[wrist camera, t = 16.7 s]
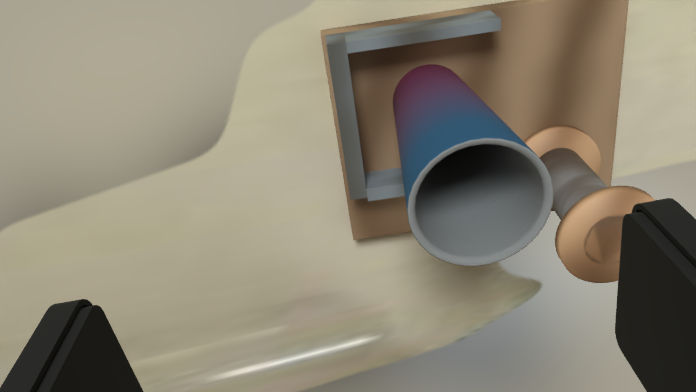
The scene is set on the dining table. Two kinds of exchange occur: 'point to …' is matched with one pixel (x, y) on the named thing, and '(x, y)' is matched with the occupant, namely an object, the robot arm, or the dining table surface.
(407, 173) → the cup
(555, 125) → the board
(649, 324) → the robot arm
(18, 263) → the dining table surface
